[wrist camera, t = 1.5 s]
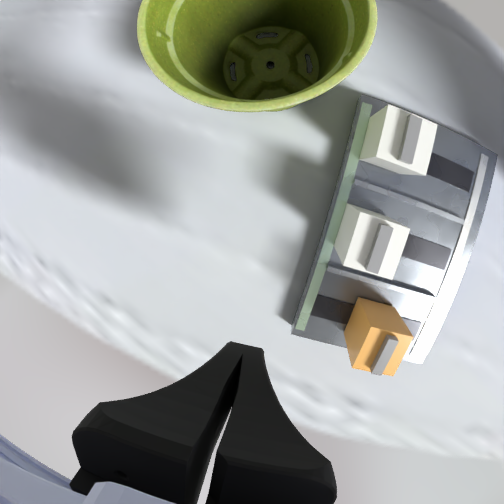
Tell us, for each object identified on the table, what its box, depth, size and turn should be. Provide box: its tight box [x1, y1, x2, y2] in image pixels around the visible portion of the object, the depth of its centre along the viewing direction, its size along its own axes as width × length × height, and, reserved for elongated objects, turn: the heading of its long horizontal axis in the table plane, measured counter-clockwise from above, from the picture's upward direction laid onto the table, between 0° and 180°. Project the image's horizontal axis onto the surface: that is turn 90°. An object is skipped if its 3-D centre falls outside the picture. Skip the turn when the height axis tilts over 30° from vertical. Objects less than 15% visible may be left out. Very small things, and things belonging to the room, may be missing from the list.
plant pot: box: [137, 0, 377, 112], centre depth 13 cm, size 9×9×9 cm
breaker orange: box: [344, 297, 413, 376], centre depth 17 cm, size 3×3×4 cm
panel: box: [291, 94, 497, 364], centre depth 18 cm, size 10×15×2 cm, turn 166°
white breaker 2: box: [334, 203, 410, 280], centre depth 16 cm, size 3×3×4 cm
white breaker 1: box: [359, 104, 437, 176], centre depth 14 cm, size 3×3×4 cm
